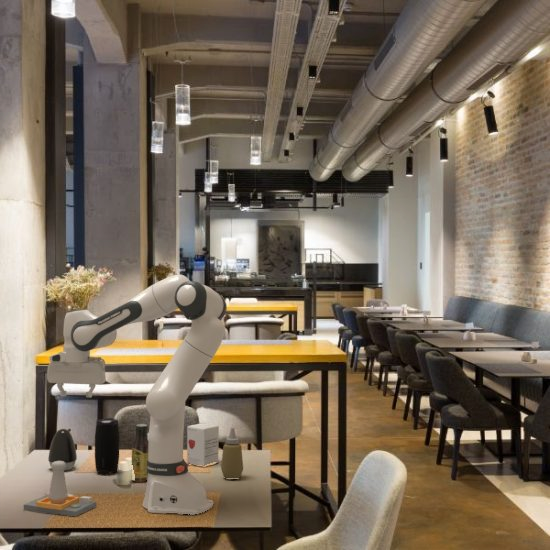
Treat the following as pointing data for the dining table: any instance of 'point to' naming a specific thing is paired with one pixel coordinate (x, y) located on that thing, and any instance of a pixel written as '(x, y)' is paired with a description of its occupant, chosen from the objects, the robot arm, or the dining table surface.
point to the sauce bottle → (140, 453)
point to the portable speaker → (106, 446)
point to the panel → (62, 505)
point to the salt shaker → (58, 484)
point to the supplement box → (202, 444)
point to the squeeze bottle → (232, 457)
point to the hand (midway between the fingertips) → (76, 396)
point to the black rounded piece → (63, 449)
